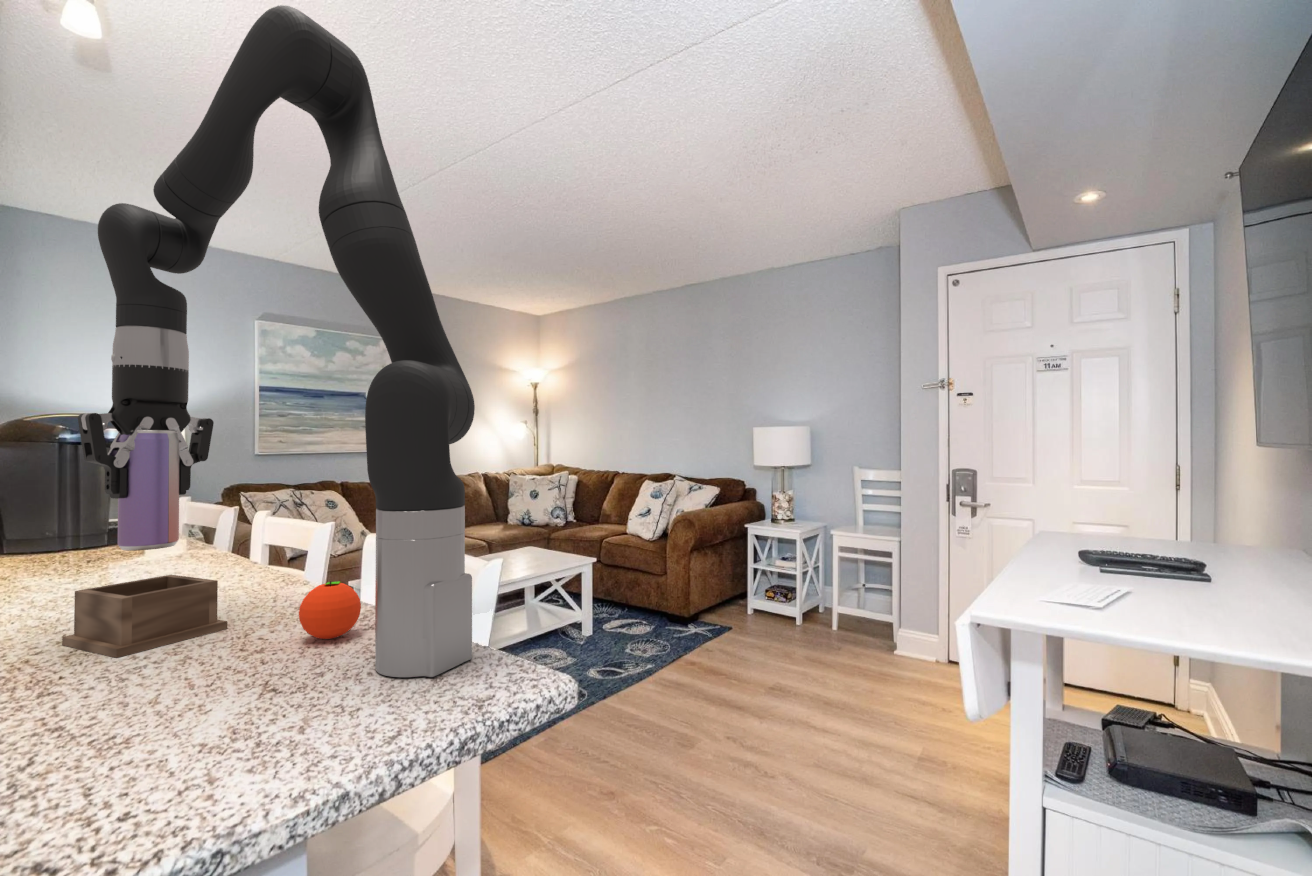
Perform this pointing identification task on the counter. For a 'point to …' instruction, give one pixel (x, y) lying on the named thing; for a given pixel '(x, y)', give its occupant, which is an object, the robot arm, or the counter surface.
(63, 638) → the open wooden box
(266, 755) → the counter surface
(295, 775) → the counter surface
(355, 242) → the robot arm
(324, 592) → the clementine
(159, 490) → the beverage can
